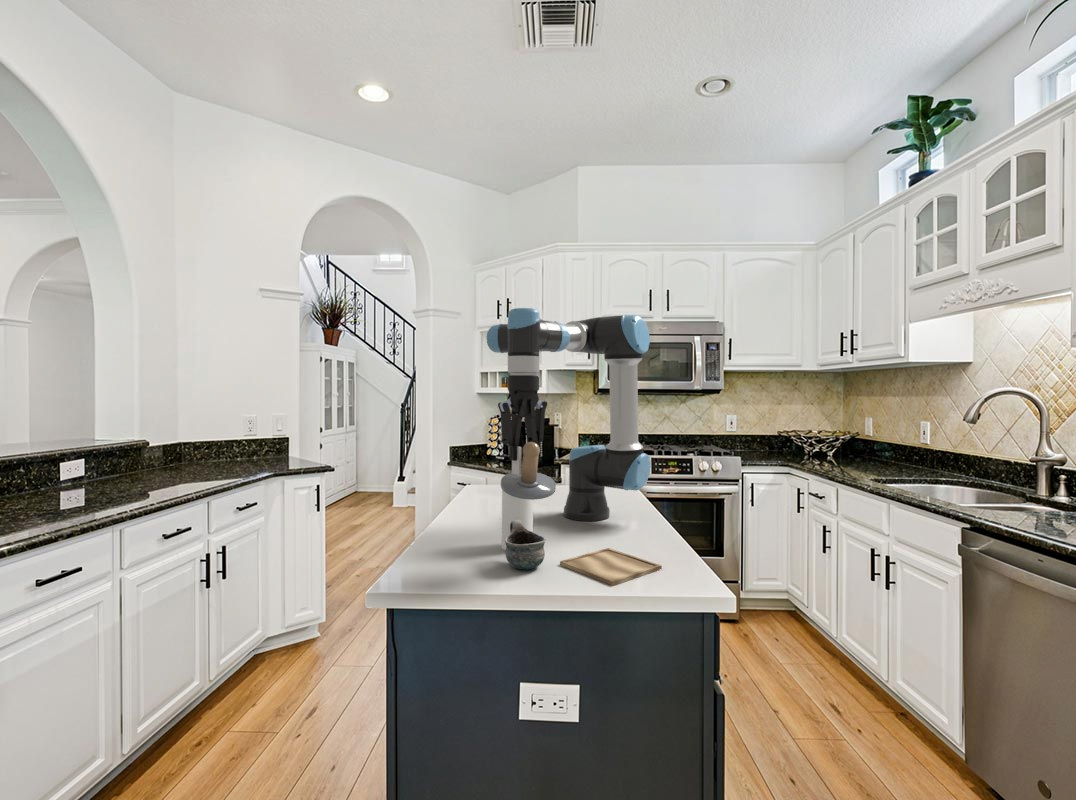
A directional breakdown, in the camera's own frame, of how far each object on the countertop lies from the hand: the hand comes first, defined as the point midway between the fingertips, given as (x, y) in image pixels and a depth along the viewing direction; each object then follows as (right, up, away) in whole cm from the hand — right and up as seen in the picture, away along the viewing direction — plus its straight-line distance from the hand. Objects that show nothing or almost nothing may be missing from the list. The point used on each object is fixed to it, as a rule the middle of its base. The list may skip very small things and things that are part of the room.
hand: (523, 472), depth 129 cm
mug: (0, -22, 0) cm, 22 cm away
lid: (+1, -3, -1) cm, 3 cm away
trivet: (+21, -22, 0) cm, 31 cm away
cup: (-2, -22, +15) cm, 27 cm away
